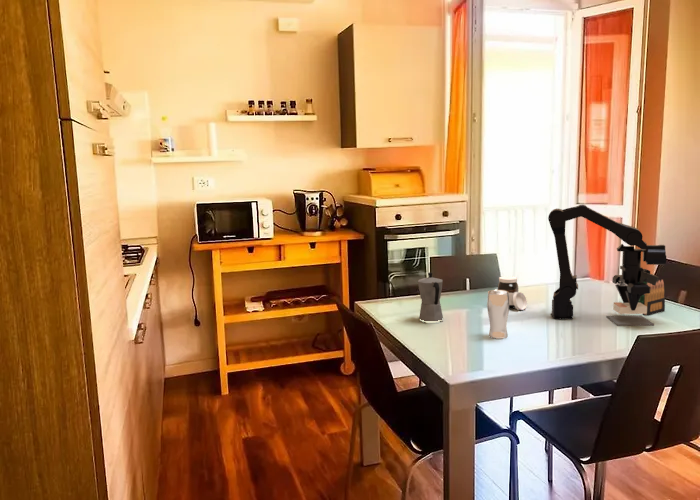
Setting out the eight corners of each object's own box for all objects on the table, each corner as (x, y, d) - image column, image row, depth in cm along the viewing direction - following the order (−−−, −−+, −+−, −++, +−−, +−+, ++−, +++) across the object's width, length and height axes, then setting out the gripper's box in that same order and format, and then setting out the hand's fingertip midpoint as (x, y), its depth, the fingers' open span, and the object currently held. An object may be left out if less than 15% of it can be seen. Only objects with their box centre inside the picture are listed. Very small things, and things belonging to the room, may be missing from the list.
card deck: (646, 313, 194) (647, 306, 193) (619, 313, 195) (619, 306, 194) (639, 309, 200) (640, 302, 199) (613, 309, 201) (613, 302, 200)
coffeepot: (413, 316, 214) (412, 270, 211) (437, 314, 216) (436, 268, 213) (425, 327, 199) (424, 277, 196) (451, 325, 201) (450, 276, 198)
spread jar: (500, 302, 230) (500, 274, 229) (529, 304, 225) (529, 276, 224) (494, 310, 220) (494, 280, 218) (524, 312, 215) (524, 282, 213)
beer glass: (485, 333, 190) (485, 289, 188) (506, 332, 190) (506, 289, 187) (489, 339, 183) (489, 294, 181) (511, 339, 183) (511, 294, 181)
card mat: (617, 325, 193) (617, 324, 193) (606, 317, 204) (606, 315, 204) (654, 325, 192) (654, 323, 192) (641, 316, 202) (641, 315, 202)
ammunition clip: (647, 315, 204) (648, 283, 202) (642, 314, 205) (643, 282, 204) (664, 311, 209) (666, 279, 207) (659, 310, 211) (661, 278, 209)
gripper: (668, 268, 185) (665, 314, 187) (645, 259, 203) (643, 301, 205) (632, 269, 186) (630, 315, 188) (612, 259, 204) (611, 301, 207)
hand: (629, 308), depth 197 cm, fingers closed on card deck, 6 cm apart
